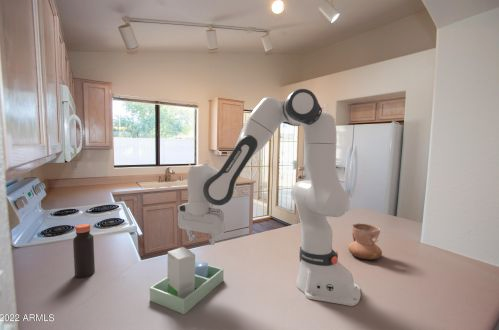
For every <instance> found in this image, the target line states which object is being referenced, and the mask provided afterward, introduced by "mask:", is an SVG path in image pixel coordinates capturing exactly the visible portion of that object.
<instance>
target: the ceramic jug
mask: <svg viewBox="0 0 499 330" xmlns="http://www.w3.org/2000/svg"><path fill="white" fill-rule="evenodd" d="M351 228H352V229H351V231H352V240H353V241H352V242H350V243H349V245H348V252H349V253H351V255H352V256H354V257H356V258H359V259H362V260H366V261H367V260H368V261H370V260H371V261H372V260H378V259H379V258H381V257H382V255H383V251H382V249H381V248H380V246H379V245H377V244H376V243H377V242H379V240H378V239H379V236H380V233H381V229H380V227H378V226H374V225H371V224H367V223H360V222H359V223H357V222H356V223H353V224H352V225H351Z"/></svg>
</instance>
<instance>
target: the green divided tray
mask: <svg viewBox="0 0 499 330" xmlns="http://www.w3.org/2000/svg"><path fill="white" fill-rule="evenodd" d="M197 262H198V261H196V260H195V263H197ZM167 280H168V276H166V277H165V278H162V279H161V280H160V281H158V282H156V283H154V284H153V285H152V286H150V287H149V301H150V302H152V303H155V304H158V305H160V306H162V307H166V308H167V309H170V310H172V311H174V312H178V313H180V314H182V315H185V314H187V313H188V312H189V311H190V310H191V309H193V307H195V306H196V305H197V304H198V303H199V302H200V301H202V299H204V298H205V297H206V296H207V295H208V294H210V293H211V292H212V291H213V290H214V289H215V288H216V287H218V286H219V285H220V284H221V283H222V282H224V268H221V267H217V266H214V265H210V264H208V278H205V277H202V276H199V275H195V288H196V289H195V290H194V291H193V292H192V293H191V294H189V295H188V296H187V297H186V298H184V299H183V298H180V297H177V296H175V295H172V294H169V293H167Z"/></svg>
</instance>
